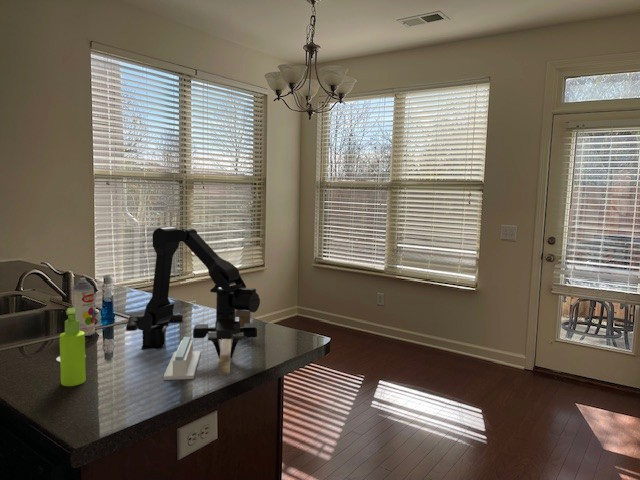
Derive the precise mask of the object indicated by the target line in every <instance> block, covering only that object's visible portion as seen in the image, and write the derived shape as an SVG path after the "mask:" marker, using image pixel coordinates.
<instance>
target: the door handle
mask: <svg viewBox="0 0 640 480" xmlns="http://www.w3.org/2000/svg"><path fill="white" fill-rule="evenodd" d="M143 316H144V314H140V315H139V314H138V315H131V316H129V317H128V318H127V323H126V327H125V328H126V330H127V331H134V330H137V329H138V326H137V323H138V322H139V321H140V320H141V318H142V317H143ZM182 321H183V313H173V316H172V317H171V319H170V320H169V323H172V322H182ZM164 331H166V332H167V326H164Z"/></svg>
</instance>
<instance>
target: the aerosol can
mask: <svg viewBox="0 0 640 480" xmlns="http://www.w3.org/2000/svg"><path fill="white" fill-rule="evenodd" d="M86 278H87V277H80V278H79V280H78V282H77V283H76V284H75V285H74V286H72V288H71V299H72V302H71V303H72V304H71V305H72V306H71V308H74V307H76V311H75V314H76V319H78V320H79V331H83V332H85V336H89V337H92V336H94V335H95V331H96V330H95V329H96V328H95V289H94V285H91V283H90V282H89V281H87V280H86ZM93 334H94V335H93ZM91 335H92V336H91Z"/></svg>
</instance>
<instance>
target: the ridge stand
mask: <svg viewBox="0 0 640 480" xmlns="http://www.w3.org/2000/svg"><path fill="white" fill-rule="evenodd" d="M191 338H192V337H191V336H183V338H182V339H180V340H181V341H180V342H179V344H178V347H177V350H176V351H174V352H173V354H172V356H171V359H170V361H169V363H168V366H167V368H166V370H165V372H164V374H163V377H162V379H163V381H168V380H169V381H170V380H171V381H172V380H173V381H174V380H194V379H195V376H196V372H197V368H198V365H199V361H200V358H201V355H202V354H201V353H202V351H201V350H194V340H193V339H191Z"/></svg>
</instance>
